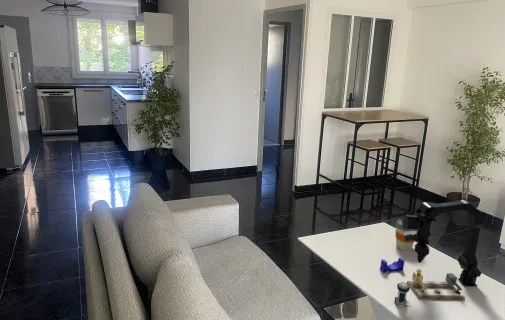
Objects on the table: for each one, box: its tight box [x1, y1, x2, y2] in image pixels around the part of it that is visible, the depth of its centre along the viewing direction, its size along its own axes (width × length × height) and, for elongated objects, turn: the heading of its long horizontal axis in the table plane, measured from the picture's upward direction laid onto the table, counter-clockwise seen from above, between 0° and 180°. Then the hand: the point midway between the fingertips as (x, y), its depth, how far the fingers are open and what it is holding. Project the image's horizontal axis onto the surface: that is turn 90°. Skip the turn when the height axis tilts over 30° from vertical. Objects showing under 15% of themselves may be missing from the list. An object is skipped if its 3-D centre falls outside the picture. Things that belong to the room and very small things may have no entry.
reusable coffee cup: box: [395, 218, 417, 251], centre depth 228 cm, size 13×13×15 cm
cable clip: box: [379, 257, 405, 274], centre depth 203 cm, size 12×4×6 cm, turn 106°
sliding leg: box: [411, 268, 427, 292], centre depth 183 cm, size 3×10×7 cm, turn 3°
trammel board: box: [406, 280, 466, 301], centre depth 185 cm, size 22×13×3 cm, turn 93°
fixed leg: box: [444, 272, 463, 293], centre depth 185 cm, size 3×10×5 cm, turn 3°
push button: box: [394, 282, 411, 307], centre depth 173 cm, size 7×5×10 cm
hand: (418, 258), depth 188 cm, fingers open, 9 cm apart
